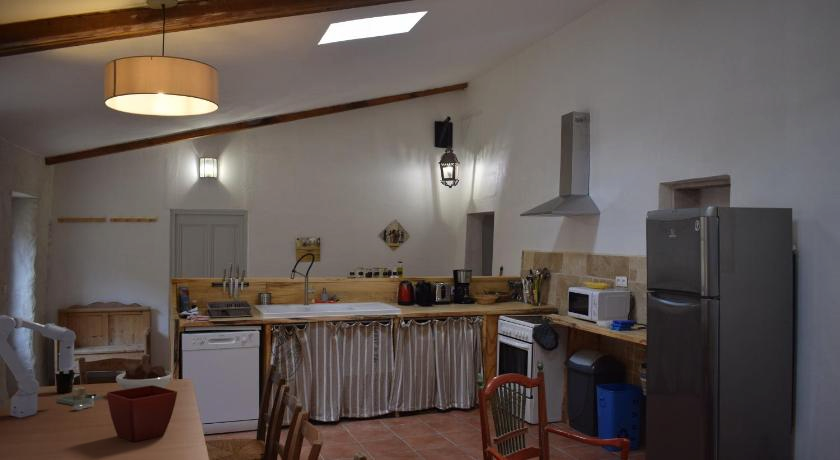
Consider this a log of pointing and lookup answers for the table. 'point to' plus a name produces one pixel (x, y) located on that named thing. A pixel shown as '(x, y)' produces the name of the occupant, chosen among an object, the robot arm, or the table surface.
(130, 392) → the plant pot
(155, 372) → the white bowl of food
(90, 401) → the crank
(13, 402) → the robot arm
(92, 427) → the table surface
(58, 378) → the coffee mug
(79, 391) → the wooden block
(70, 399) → the tray
